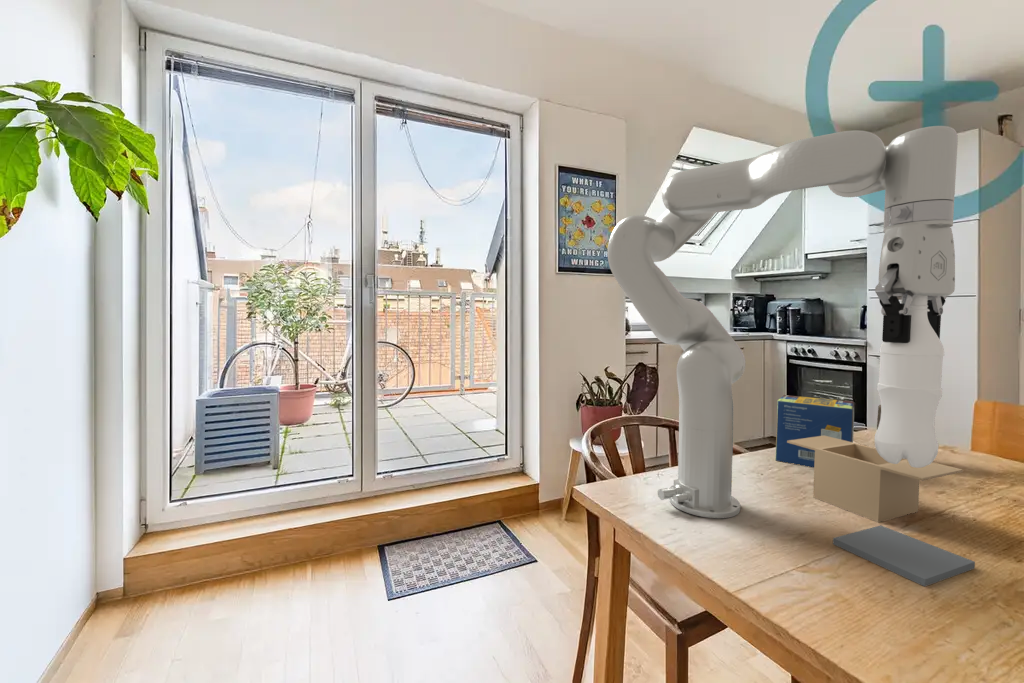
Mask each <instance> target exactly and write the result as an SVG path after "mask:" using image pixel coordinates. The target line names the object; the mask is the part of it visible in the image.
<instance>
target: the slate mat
mask: <svg viewBox="0 0 1024 683" xmlns="http://www.w3.org/2000/svg"><path fill="white" fill-rule="evenodd" d="M832 544H833V545H834V546H836V547H838V548H840V547H841V548H840V549H842V550H845V551H847V552H848V553H851V554H854V555H856V556H858V557H860V558H862V559H864V560H866V561H869V562H871V563H873V564H875V565H878V566H880V567H882V568H884V569H886V570H889V571H890V572H892V573H894V574H897V575H899V576H900V577H903V578H905V579H907V580H910V581H912V582H914V583H916V584H918V585H920V586H923V587H927V586H930V585H932V584H935V583H938V582H941V581H944V580H947V579H949V578H952V577H955V576H958V575H961V574H963V573H966V572H968V571H971V570H974V569H975V568H976V566H975V565H976V561H975V560H971V559H969V558H966V557H964V556H961V555H959V554H956V553H954V552H951V551H948V550H946V549H944V548H940V547H938V546H935V545H933V544H930V543H927V542H925V541H922V540H920V539H918V538H915V537H912V536H909V535H907V534H905V533H901V532H900V531H896V530H894V529H891V528H889V527H886V526H883V525H882V524H881V525H877V526H873V527H869V528H866V529H863V530H858V531H854V532H850V533H846V534H844V535H843V534H842V535H838V536H835V537H833V538H832Z"/></svg>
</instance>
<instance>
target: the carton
mask: <svg viewBox="0 0 1024 683" xmlns="http://www.w3.org/2000/svg"><path fill="white" fill-rule="evenodd" d="M787 443H790V444H794V445H797V446H801V447H804V448H808V449H811V450H815V463H814V467H813V468H814V469H813V488H812V489H813V490H812V491H813V493H812V494H813V495H812V496H813V497H812V498H813V499H815V500H816V499H817V500H818V501H821V502H825V503H826V504H829V505H832V506H834V507H837V508H840V509H843V510H845V511H847V510H848V512H850V513H852V512H853V514H855V515H858V516H860V515H861V517H863V518H866V519H868V518H869V520H872V521H873V522H876V523H880V522H884V521H888V520H892V519H896V518H900V517H904V516H908V515H911V514H910V513H912V514H916V513H918V512H919V498H920V482H921V481H922V482H923V481H928V480H933V479H936V478H942V477H946V476H949V475H954V474H955V475H956V474H958V473H959V474H960V473H963V472H964V469H962V468H958V467H954V466H950V465H946V464H942V463H938V462H934V461H933V462H932V463H931V464H930V465H926V466H925V467H922V468H915V467H911V466H910V464H909V462H908V460H907V459H903V458H902V459H901V461H900V462H899V463H898V464H892V463H889V462H887V461H886V460H884V459H883V458H882V457H881V456H880V455H879V453H878V452H877V450H876V447H873V446H869V445H864V444H862V443H856V442H854V441H853V442H849V441H845V440H841V439H837V438H833V437H828V436H817V437H810V438H803V439H796V440H789V441H787ZM915 512H916V513H915ZM907 514H908V515H907Z"/></svg>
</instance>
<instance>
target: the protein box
mask: <svg viewBox="0 0 1024 683" xmlns="http://www.w3.org/2000/svg"><path fill="white" fill-rule="evenodd" d="M776 410H777V411H776V434H775V435H776V437H775V439H776V440H775V456H774V457H775V461H777V462H781V461H782V462H781V463H786V462H788V463H787V464H791V463H794V464H793V465H797V464H800V465H799V466H802V465H805V466H804V467H808V466H809V468H814V463H815V450H811V449H808V448H804V447H801V446H797V445H794V444H790V443H787V441H789V440H796V439H803V438H810V437H817V436H828V437H833V438H837V439H841V440H845V441H849V442H853V443H854V430H855V429H854V428H855V426H854V424H855V402H854V400H853V401H852V400H840V399H830V398H818V397H808V396H798V395H787V394H783V395H782V396H781V397H780V398H779V399H777V408H776Z"/></svg>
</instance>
